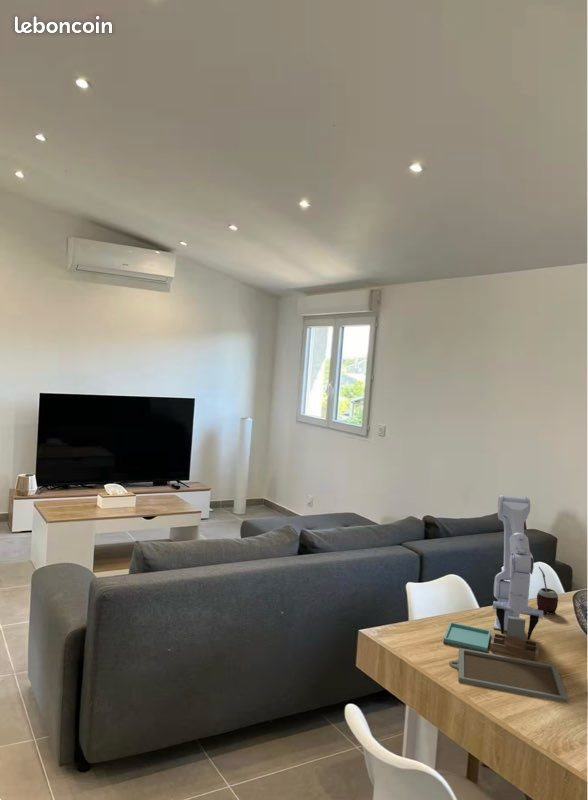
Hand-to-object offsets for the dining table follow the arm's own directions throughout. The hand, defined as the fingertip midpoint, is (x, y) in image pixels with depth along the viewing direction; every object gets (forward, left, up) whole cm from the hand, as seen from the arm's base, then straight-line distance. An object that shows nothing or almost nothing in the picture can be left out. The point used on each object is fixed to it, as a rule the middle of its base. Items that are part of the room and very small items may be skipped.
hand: (515, 635), depth 185 cm
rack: (+3, 0, -4) cm, 5 cm away
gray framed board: (+20, -2, -4) cm, 21 cm away
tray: (+2, -14, -4) cm, 15 cm away
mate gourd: (-38, +9, -4) cm, 39 cm away
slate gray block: (0, 0, -4) cm, 4 cm away
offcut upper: (+4, 0, -2) cm, 4 cm away
